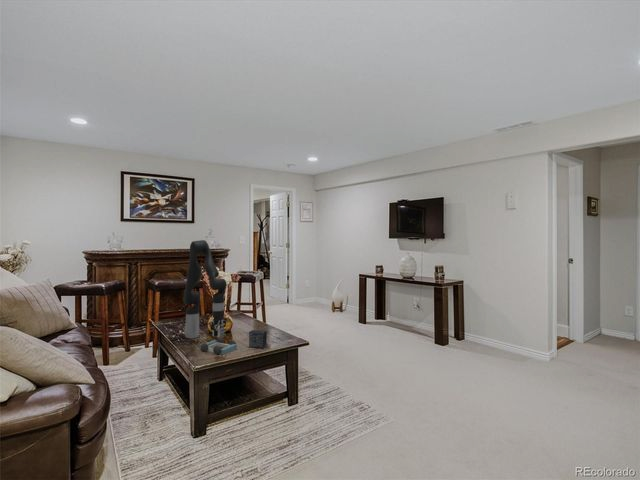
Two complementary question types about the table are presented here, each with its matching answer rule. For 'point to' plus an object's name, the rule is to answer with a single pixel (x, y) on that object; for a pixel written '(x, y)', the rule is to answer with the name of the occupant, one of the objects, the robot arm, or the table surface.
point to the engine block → (219, 332)
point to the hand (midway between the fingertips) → (218, 335)
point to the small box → (257, 339)
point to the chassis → (216, 344)
